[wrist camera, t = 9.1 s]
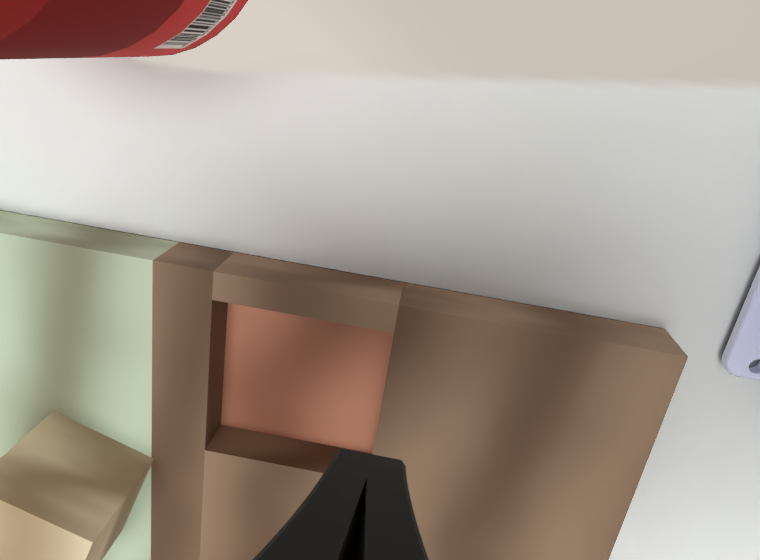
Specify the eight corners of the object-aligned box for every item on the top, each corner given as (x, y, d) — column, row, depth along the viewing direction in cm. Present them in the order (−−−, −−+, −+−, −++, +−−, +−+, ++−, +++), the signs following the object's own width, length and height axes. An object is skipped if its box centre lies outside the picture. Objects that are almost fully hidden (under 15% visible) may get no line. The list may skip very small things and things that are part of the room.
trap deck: (664, 328, 20) (687, 356, 18) (514, 738, 28) (519, 787, 26) (-11, 208, 21) (-56, 223, 19) (32, 636, 29) (3, 677, 27)
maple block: (154, 458, 21) (93, 542, 18) (122, 530, 23) (59, 621, 19) (53, 410, 21) (-31, 485, 17) (27, 486, 23) (-55, 570, 19)
